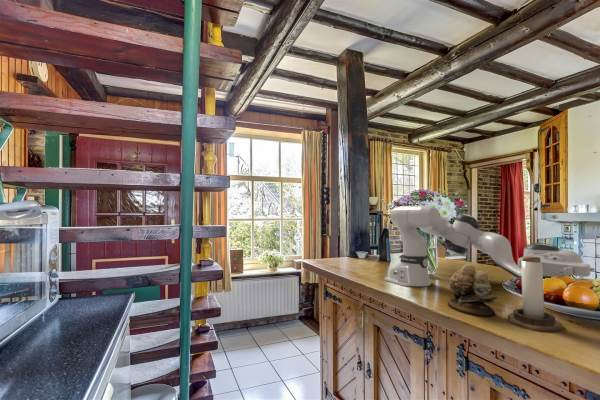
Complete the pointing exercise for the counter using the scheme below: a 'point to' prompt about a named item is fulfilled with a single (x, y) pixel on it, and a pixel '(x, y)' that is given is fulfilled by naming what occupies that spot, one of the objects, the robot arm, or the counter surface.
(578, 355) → the counter surface
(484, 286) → the owl figurine
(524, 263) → the off-white tall cylinder
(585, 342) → the counter surface
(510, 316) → the groove tray
